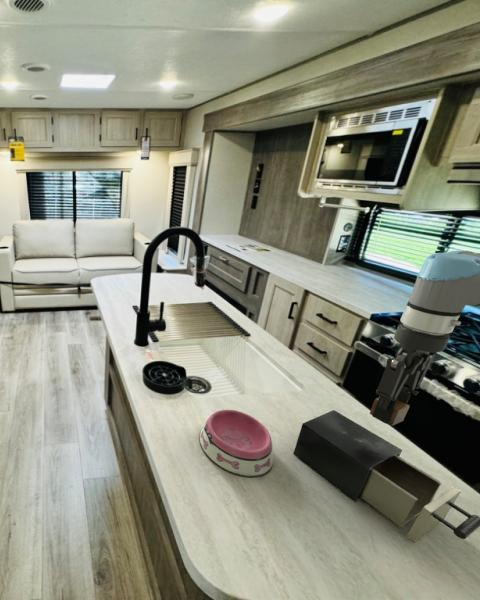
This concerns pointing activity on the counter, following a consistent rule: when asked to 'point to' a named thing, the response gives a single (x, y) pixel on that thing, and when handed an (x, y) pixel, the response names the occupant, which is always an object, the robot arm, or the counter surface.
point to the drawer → (413, 498)
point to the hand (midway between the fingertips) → (386, 416)
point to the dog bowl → (237, 443)
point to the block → (394, 412)
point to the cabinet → (342, 451)
